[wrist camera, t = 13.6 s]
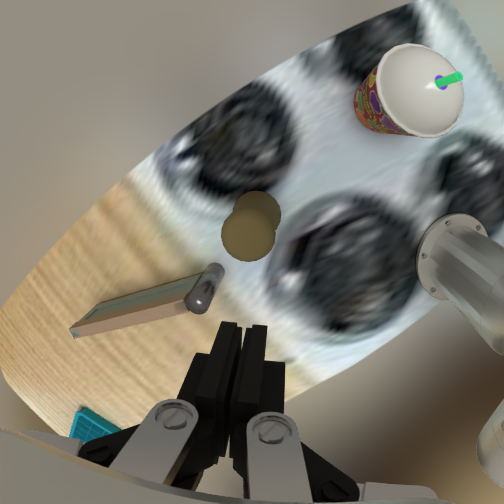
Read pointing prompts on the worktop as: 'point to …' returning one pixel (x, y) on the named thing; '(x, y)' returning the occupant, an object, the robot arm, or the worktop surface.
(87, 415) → the ice cube tray
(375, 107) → the smoothie
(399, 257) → the worktop surface
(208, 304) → the gate posts
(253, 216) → the cork
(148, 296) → the gate
